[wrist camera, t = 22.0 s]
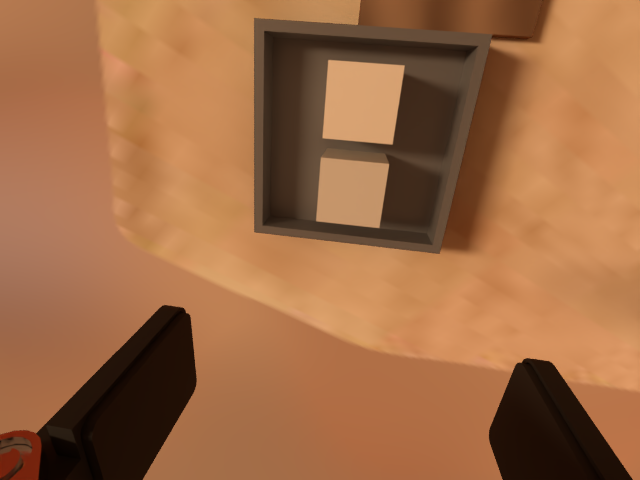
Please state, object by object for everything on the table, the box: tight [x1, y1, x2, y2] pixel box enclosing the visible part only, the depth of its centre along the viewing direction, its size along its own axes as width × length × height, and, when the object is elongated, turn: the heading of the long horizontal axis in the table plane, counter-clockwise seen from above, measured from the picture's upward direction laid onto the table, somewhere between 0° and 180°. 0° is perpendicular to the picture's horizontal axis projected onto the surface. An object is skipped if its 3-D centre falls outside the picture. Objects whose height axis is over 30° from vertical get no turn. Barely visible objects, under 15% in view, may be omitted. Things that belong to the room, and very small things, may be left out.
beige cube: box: [316, 148, 389, 228], centre depth 31 cm, size 6×6×6 cm
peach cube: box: [323, 60, 405, 145], centre depth 28 cm, size 6×6×6 cm
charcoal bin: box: [254, 18, 492, 254], centre depth 31 cm, size 18×18×4 cm
